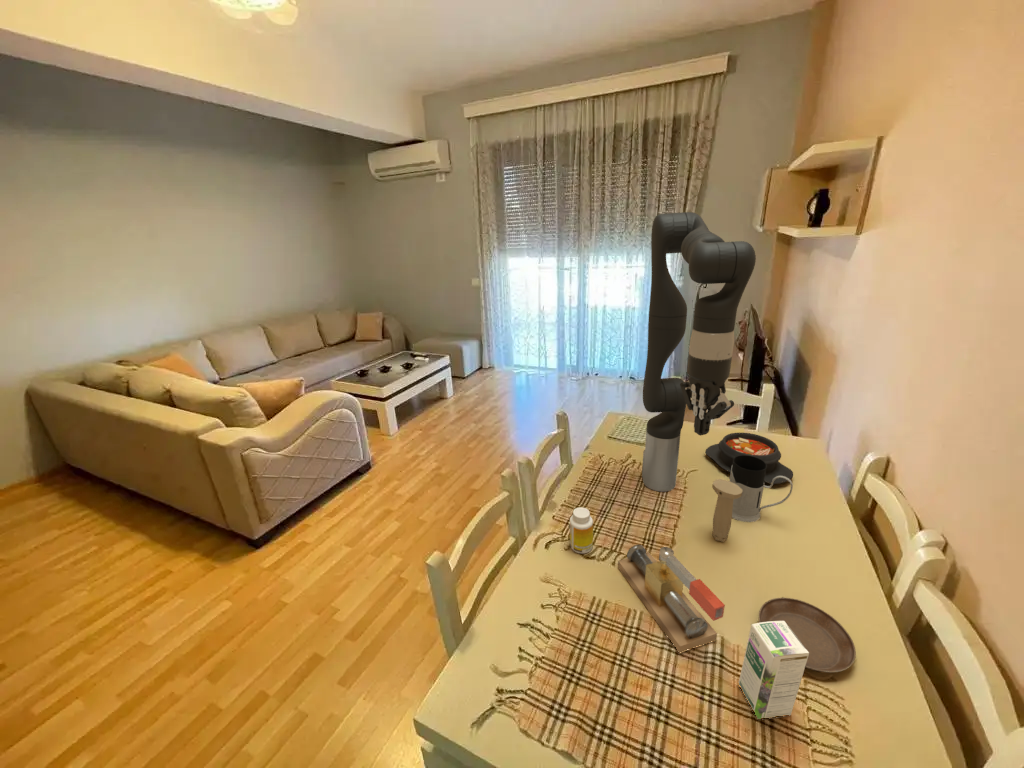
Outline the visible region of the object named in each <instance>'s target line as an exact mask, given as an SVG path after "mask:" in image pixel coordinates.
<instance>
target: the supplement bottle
mask: <svg viewBox="0 0 1024 768" xmlns="http://www.w3.org/2000/svg"><path fill="white" fill-rule="evenodd" d="M593 542H594V519H593V518H592V516H591V513H590V510H589V509H588V508H586V507H576V508H574V510H573V511H572V515H571V516H570V518H569V546H570V548H571V549H572V551H573V552H575V553H576V554H577V553H578V554H587V553H589V552H590V551H592V549H593V546H594V543H593Z"/></svg>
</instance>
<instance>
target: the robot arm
mask: <svg viewBox="0 0 1024 768" xmlns="http://www.w3.org/2000/svg"><path fill="white" fill-rule="evenodd" d="M650 236H651V241H650V242H651V244H650V247H651V249H650V251H651V252H650V253H651V257H650V258H651V266H650V267H651V275H650V276H651V285H650V296H649V306H648V307H649V309H648V322H647V323H648V325H647V351H646V352H647V353H646V364H645V371H644V379H643V385H642V386H643V387H642V403H643V406H644V409H645V410H646V411H647V412H648V413H658V414H657V415H655V416H652V417H651V418H649V420H647V423H646V429H645V430H646V431H645V444H644V445H645V448H644V449H643V451H642V452H643V454H642V465H641V466H642V467H641V469H642V470H641V477H642V481H643V484H644V486H646V487H647V488H648V489H650V490H653V491H656V492H662V493H663V492H670V491H672V490H674V489H675V488H676V483H677V475H678V473H677V472H678V463H679V454H680V453H679V452H680V442H681V434H682V433H681V432H682V429H683V426H684V420H685V414H686V409H688V410H689V411H692V412H693V416H694V422H693V429H694V430H693V432H694V433H695V434H696V435H698V436H701V437H702V436H704V435H705V436H706V435H707V434H709V432H710V428H711V422H712V421H711V420H717V419H721V417H722V416H723V415H725V414H726V413H727V412H728V411H729V410H731V409H732V408H733V407H735V406H734V405H735V403H734V401H733V399H728V398H727V396H726V391H727V388H726V381H727V380H728V379H729V377H730V374H731V367H732V361H733V352H734V345H735V327H736V326H735V325H736V321H737V320H736V319H737V313H738V308H739V304H740V303H741V299H742V297H743V294H744V292H745V289H746V288H747V285H748V282H749V281H750V279H751V277H752V274H753V272H754V269H755V267H756V262H757V261H756V260H757V258H756V256H757V255H756V251H755V248H754V247H753V246H752V244H751V243H750V242H748V241H745V240H744V241H742V240H739V241H725V240H724V239H723V238H722V237H720V236H719V235H717V234H716V233H713V232H711V231H710V230H709V227H708V226H707V224H706V223H705V221H704V220H703V218H702V217H701V216H700V214H698V213H695V212H692V211H688V212H687V211H684V212H668V213H659V214H657V215H656V216H655V217H654V219H653V222H652V226H651V235H650ZM667 254H681V255H682V258H683V260H684V262H685V263H687V264H688V273H689V277H690V279H691V280H692V281H693V282H695V283H697V284H699V285H711V284H712V285H713V284H715V285H716V284H723V287H722V288H721V289H720V290H719V291H718V292H716V293H714V294H713V293H712V294H710V295H706V296H702V297H700V298H699V299H697V300H696V302H695V304H694V305H695V306H694V314H693V323H692V331H691V335H690V340H689V348H688V349H689V350H688V357H687V370H686V373H687V375H688V380H687V381H684V380H683V379H682V378H679V377H669V378H668V377H665V378H662V376H663V371H664V367H665V365H666V363H667V361H668V360H669V358H670V356H671V355H672V354H673V352H674V351H675V349H676V348H677V347H678V346H679V344H680V343H681V341H682V340H683V339H684V335H685V333H686V327H687V319H688V317H687V316H688V306H687V303H686V300H685V298H684V297H683V295H682V294H681V291H680V290H679V289H678V287H677V285H676V284H675V282H674V279H673V278H672V276H671V274H670V271H669V268H668V262H667ZM686 407H687V408H686Z"/></svg>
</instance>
